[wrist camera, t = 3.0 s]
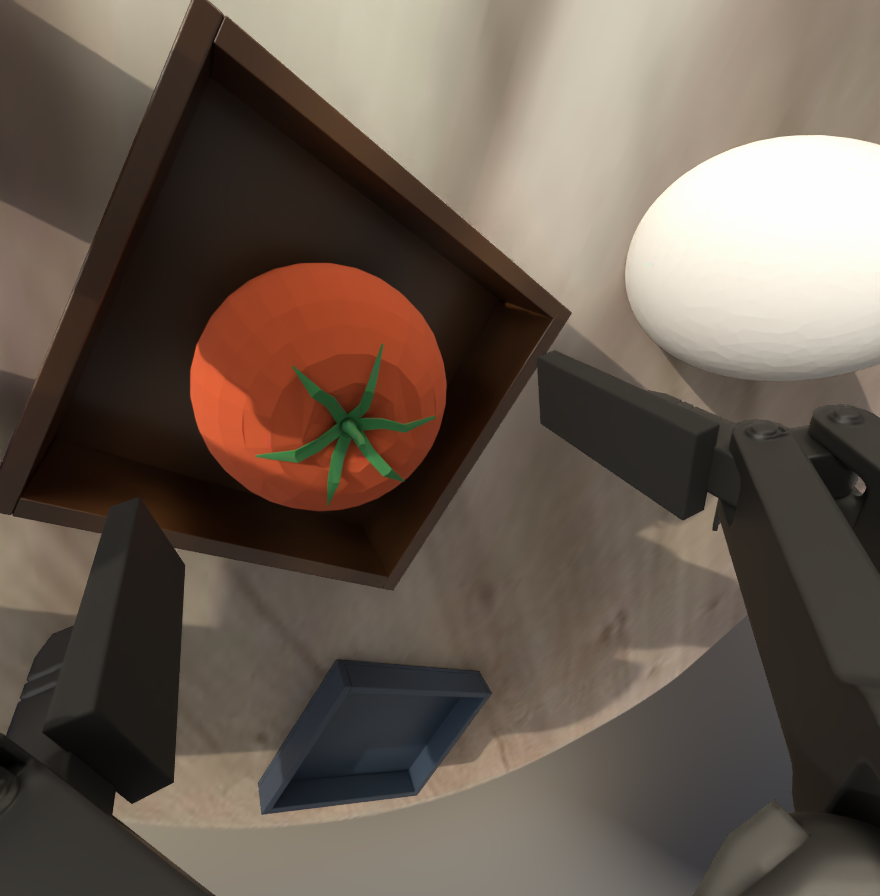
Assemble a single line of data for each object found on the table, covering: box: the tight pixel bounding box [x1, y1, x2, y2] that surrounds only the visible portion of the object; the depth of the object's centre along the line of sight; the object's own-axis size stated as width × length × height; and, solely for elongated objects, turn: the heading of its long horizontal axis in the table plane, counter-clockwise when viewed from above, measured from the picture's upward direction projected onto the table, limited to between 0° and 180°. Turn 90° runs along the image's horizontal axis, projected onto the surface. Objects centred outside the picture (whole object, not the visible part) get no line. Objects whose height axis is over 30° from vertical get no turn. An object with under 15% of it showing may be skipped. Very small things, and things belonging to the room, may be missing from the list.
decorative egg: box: [625, 135, 880, 381], centre depth 25 cm, size 12×12×15 cm
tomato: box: [190, 263, 447, 511], centre depth 19 cm, size 10×10×10 cm
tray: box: [258, 660, 492, 815], centre depth 39 cm, size 15×13×2 cm
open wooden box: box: [0, 0, 572, 590], centre depth 21 cm, size 18×18×5 cm
